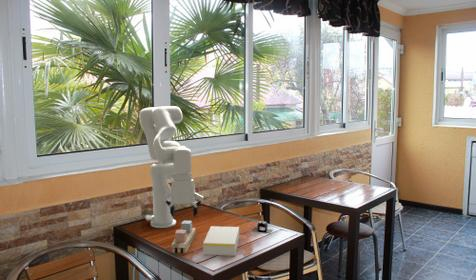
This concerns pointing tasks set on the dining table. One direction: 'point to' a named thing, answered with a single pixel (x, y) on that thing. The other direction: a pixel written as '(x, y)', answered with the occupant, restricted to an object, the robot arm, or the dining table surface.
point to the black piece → (264, 229)
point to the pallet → (186, 245)
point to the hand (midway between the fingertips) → (184, 215)
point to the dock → (221, 241)
